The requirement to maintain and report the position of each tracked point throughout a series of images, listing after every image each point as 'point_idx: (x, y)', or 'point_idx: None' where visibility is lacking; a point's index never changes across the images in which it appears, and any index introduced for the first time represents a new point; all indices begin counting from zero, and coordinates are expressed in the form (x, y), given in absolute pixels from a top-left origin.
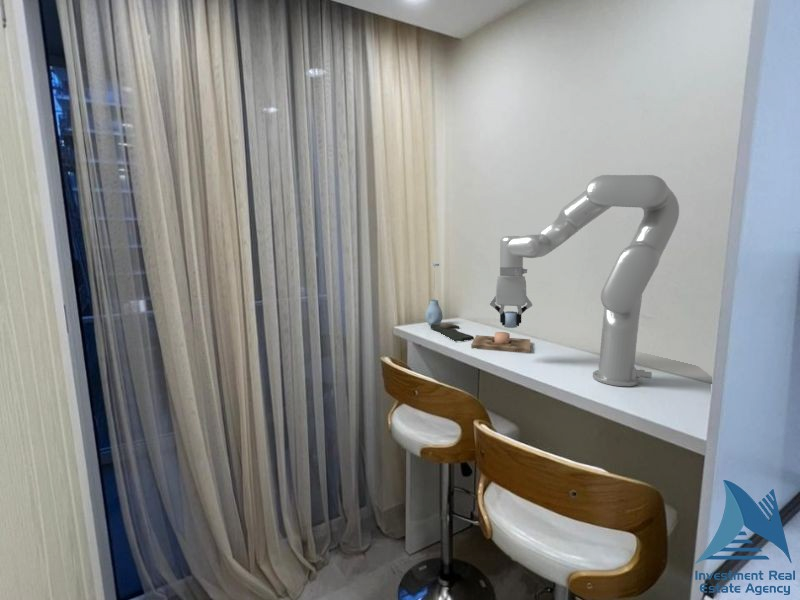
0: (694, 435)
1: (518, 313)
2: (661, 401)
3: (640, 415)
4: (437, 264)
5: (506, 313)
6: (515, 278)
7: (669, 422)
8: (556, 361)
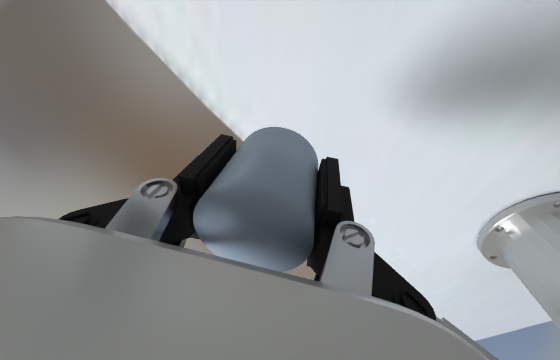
0: None
1: (317, 261)
2: (515, 301)
3: None
4: None
5: (217, 254)
6: None
7: None
8: (488, 82)
